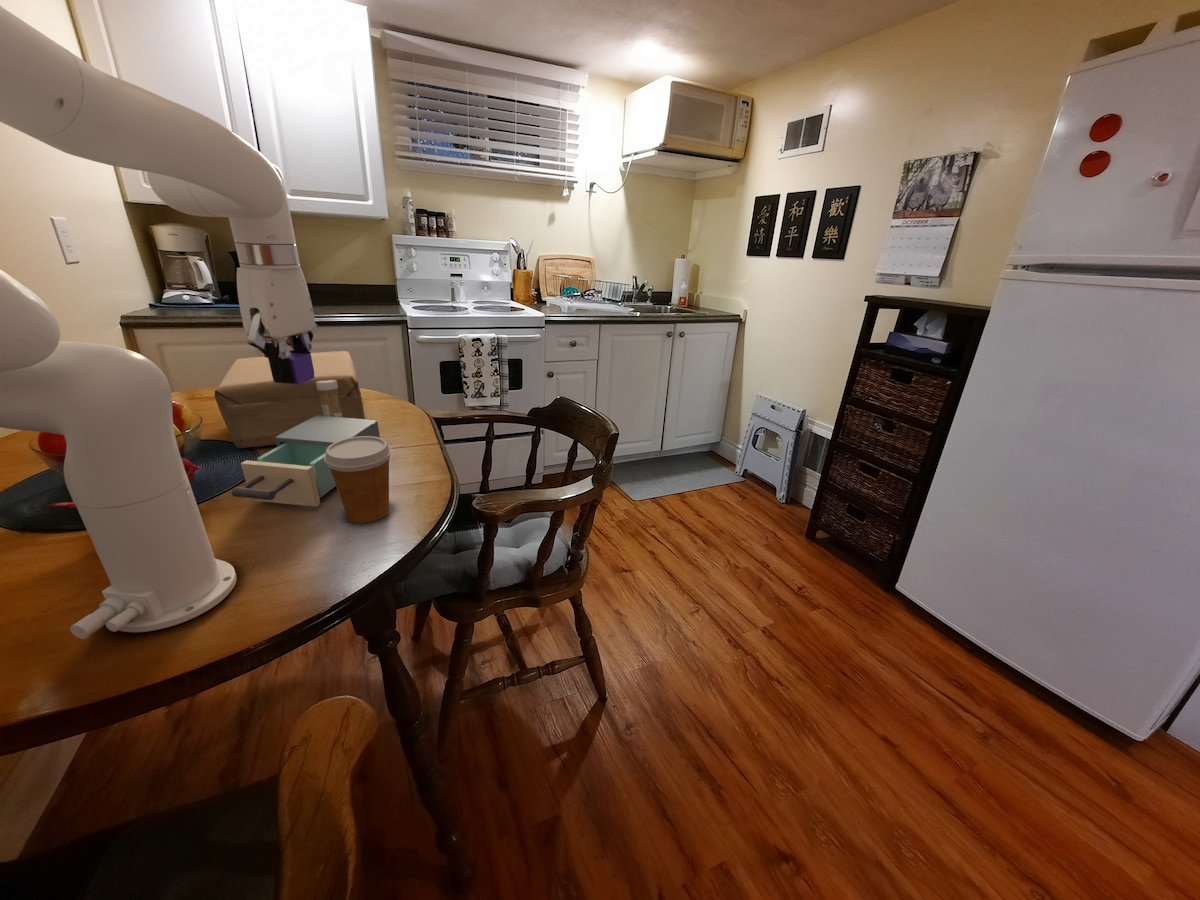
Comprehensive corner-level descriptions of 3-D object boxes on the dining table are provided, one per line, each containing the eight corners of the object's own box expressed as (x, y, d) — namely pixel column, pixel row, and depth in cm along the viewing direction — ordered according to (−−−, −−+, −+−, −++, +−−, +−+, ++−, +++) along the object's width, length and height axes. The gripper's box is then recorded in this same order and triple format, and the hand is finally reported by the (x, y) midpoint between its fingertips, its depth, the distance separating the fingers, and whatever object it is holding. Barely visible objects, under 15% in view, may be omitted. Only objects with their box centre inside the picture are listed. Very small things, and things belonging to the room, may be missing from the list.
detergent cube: (298, 384, 77) (293, 359, 76) (274, 382, 77) (269, 357, 76) (314, 378, 81) (310, 354, 79) (292, 376, 81) (287, 352, 80)
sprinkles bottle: (350, 440, 107) (340, 380, 102) (327, 443, 105) (315, 383, 99) (347, 433, 110) (336, 375, 105) (324, 436, 108) (312, 377, 103)
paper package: (245, 412, 119) (230, 355, 114) (361, 400, 130) (353, 348, 125) (227, 454, 98) (207, 386, 92) (368, 436, 109) (358, 375, 103)
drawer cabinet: (350, 487, 88) (342, 443, 85) (285, 480, 89) (274, 437, 86) (383, 460, 99) (377, 420, 95) (324, 454, 100) (316, 415, 96)
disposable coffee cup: (337, 503, 83) (324, 438, 78) (398, 495, 87) (389, 432, 82) (334, 533, 75) (319, 463, 70) (400, 522, 79) (391, 455, 74)
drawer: (292, 525, 75) (282, 486, 72) (223, 518, 76) (210, 479, 73) (352, 477, 90) (346, 443, 87) (293, 472, 91) (285, 438, 88)
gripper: (285, 253, 80) (307, 364, 87) (195, 258, 64) (231, 391, 72) (328, 256, 79) (347, 367, 86) (248, 261, 64) (279, 395, 71)
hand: (294, 377), depth 79 cm, fingers closed on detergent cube, 4 cm apart
